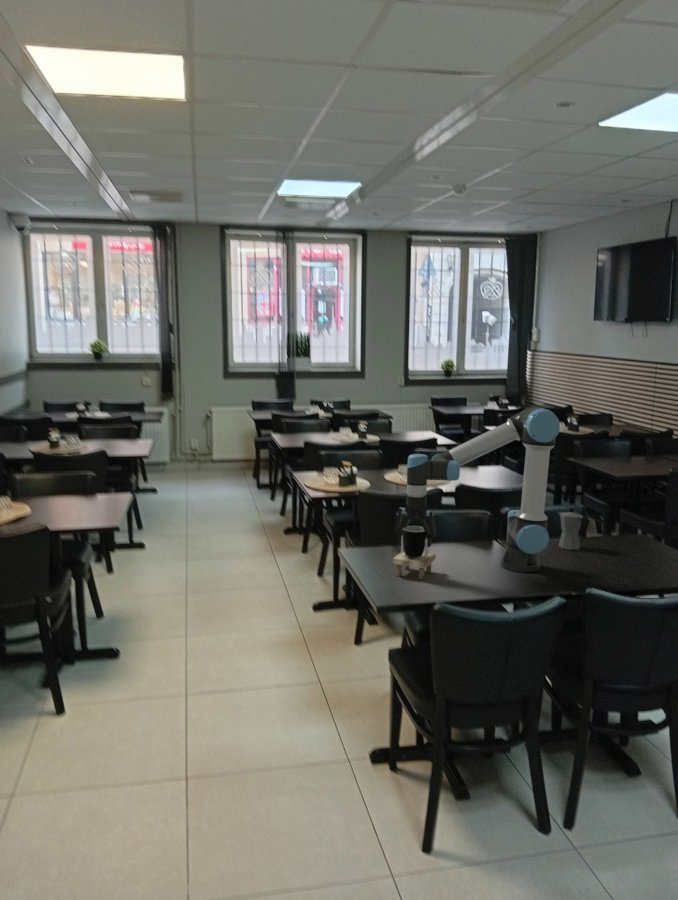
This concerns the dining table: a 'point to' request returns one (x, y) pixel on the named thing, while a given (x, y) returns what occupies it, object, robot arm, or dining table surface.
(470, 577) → the dining table surface
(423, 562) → the footstool
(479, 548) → the dining table surface
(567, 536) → the coffeepot
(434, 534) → the robot arm
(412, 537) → the mug
